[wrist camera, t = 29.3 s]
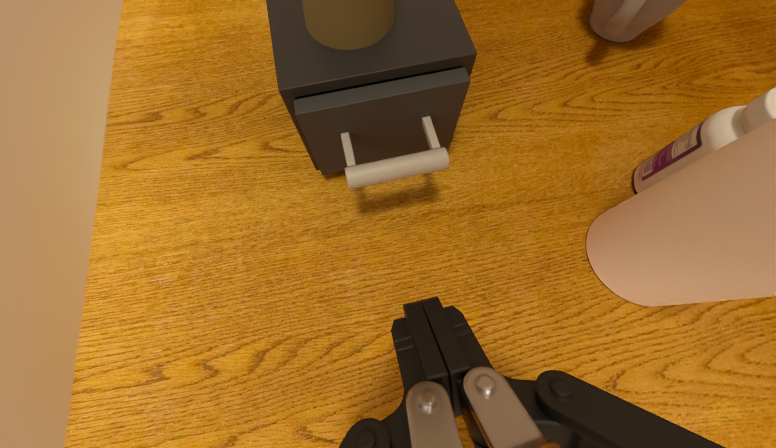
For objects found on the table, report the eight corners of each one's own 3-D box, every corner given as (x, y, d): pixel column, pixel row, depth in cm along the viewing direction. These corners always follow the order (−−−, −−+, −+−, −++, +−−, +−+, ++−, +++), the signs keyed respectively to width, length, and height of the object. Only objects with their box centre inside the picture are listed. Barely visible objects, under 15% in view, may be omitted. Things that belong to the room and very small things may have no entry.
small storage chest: (449, 142, 28) (477, 53, 19) (316, 170, 27) (278, 90, 18) (410, 31, 33) (417, -83, 24) (295, 52, 32) (257, -58, 23)
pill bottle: (707, 206, 25) (883, 138, 16) (652, 223, 25) (801, 162, 16) (670, 153, 27) (810, 65, 18) (618, 168, 27) (735, 86, 18)
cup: (631, 325, 22) (1125, 316, 7) (565, 230, 25) (832, 78, 10) (714, 278, 23) (1298, 188, 8) (643, 192, 26) (993, 4, 11)
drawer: (463, 191, 25) (493, 134, 18) (330, 220, 24) (304, 173, 17) (411, 40, 31) (417, -50, 24) (302, 60, 30) (273, -27, 23)
